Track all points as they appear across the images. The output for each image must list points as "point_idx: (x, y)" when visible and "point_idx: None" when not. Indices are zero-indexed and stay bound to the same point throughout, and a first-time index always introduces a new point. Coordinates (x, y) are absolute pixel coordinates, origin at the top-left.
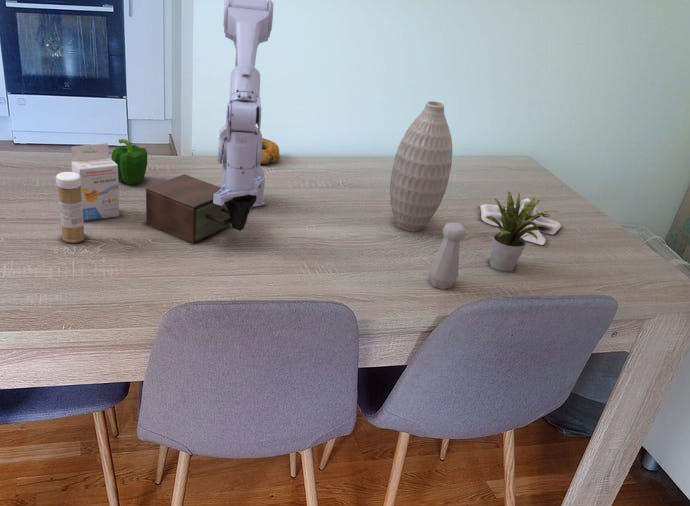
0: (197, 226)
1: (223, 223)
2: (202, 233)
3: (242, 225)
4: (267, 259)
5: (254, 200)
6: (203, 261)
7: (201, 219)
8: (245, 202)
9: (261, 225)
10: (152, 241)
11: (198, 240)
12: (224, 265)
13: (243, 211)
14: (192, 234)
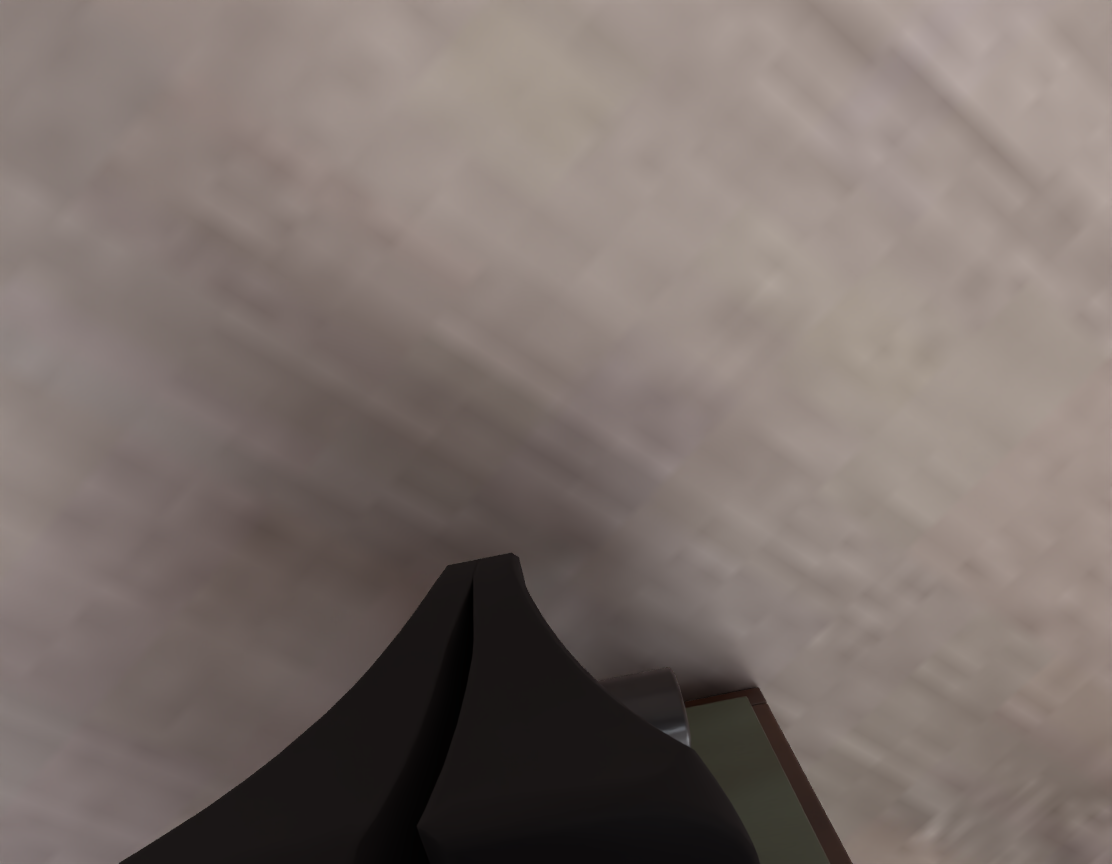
0: (794, 797)
1: (678, 697)
2: (692, 737)
3: (487, 577)
4: (432, 142)
5: (200, 860)
6: (911, 442)
7: (764, 859)
8: (600, 836)
9: (52, 681)
10: (928, 819)
11: (700, 703)
12: (841, 293)
13: (538, 693)
14: (789, 750)
